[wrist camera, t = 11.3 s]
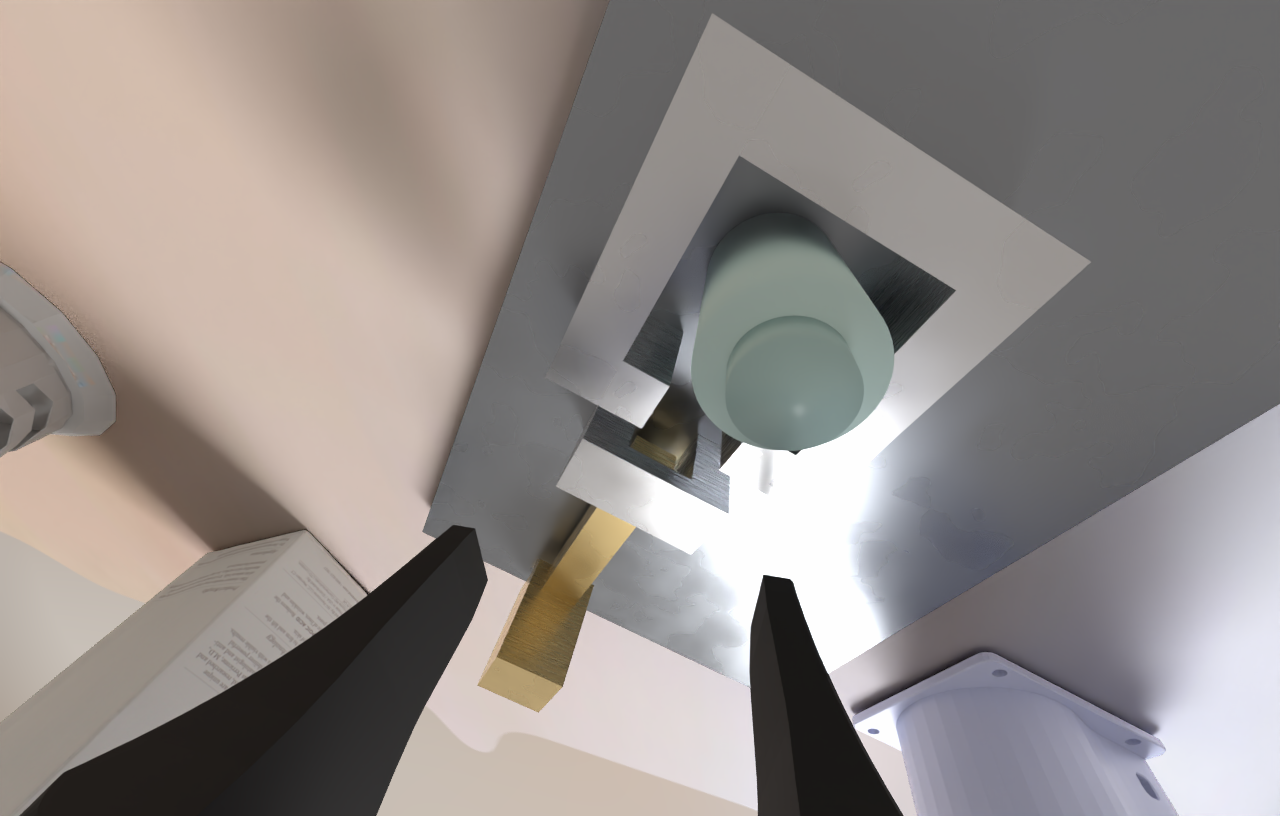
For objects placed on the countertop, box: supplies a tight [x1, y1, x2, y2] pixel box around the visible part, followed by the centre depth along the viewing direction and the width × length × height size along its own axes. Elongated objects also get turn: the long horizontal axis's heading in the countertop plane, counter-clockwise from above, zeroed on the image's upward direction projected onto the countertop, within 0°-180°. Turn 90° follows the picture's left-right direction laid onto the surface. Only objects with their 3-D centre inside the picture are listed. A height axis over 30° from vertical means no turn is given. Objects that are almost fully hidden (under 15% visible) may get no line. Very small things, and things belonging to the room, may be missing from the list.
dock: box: [423, 0, 1280, 688], centre depth 13 cm, size 18×27×4 cm, turn 153°
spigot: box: [691, 213, 894, 451], centre depth 10 cm, size 3×3×6 cm
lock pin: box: [478, 436, 676, 712], centre depth 16 cm, size 2×10×4 cm, turn 153°
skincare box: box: [0, 530, 367, 816], centre depth 20 cm, size 8×6×15 cm
